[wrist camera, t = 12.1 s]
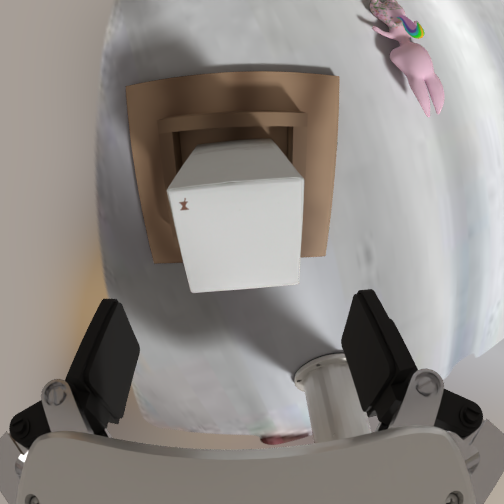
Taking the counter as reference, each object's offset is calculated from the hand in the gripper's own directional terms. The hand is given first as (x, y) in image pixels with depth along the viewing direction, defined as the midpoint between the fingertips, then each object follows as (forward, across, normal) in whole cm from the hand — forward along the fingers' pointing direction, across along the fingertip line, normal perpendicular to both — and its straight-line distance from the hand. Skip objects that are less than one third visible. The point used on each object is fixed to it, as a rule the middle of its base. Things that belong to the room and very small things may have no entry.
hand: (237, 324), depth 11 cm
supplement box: (+19, 0, 0) cm, 19 cm away
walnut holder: (+20, 0, -1) cm, 20 cm away
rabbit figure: (+20, -17, -15) cm, 30 cm away
